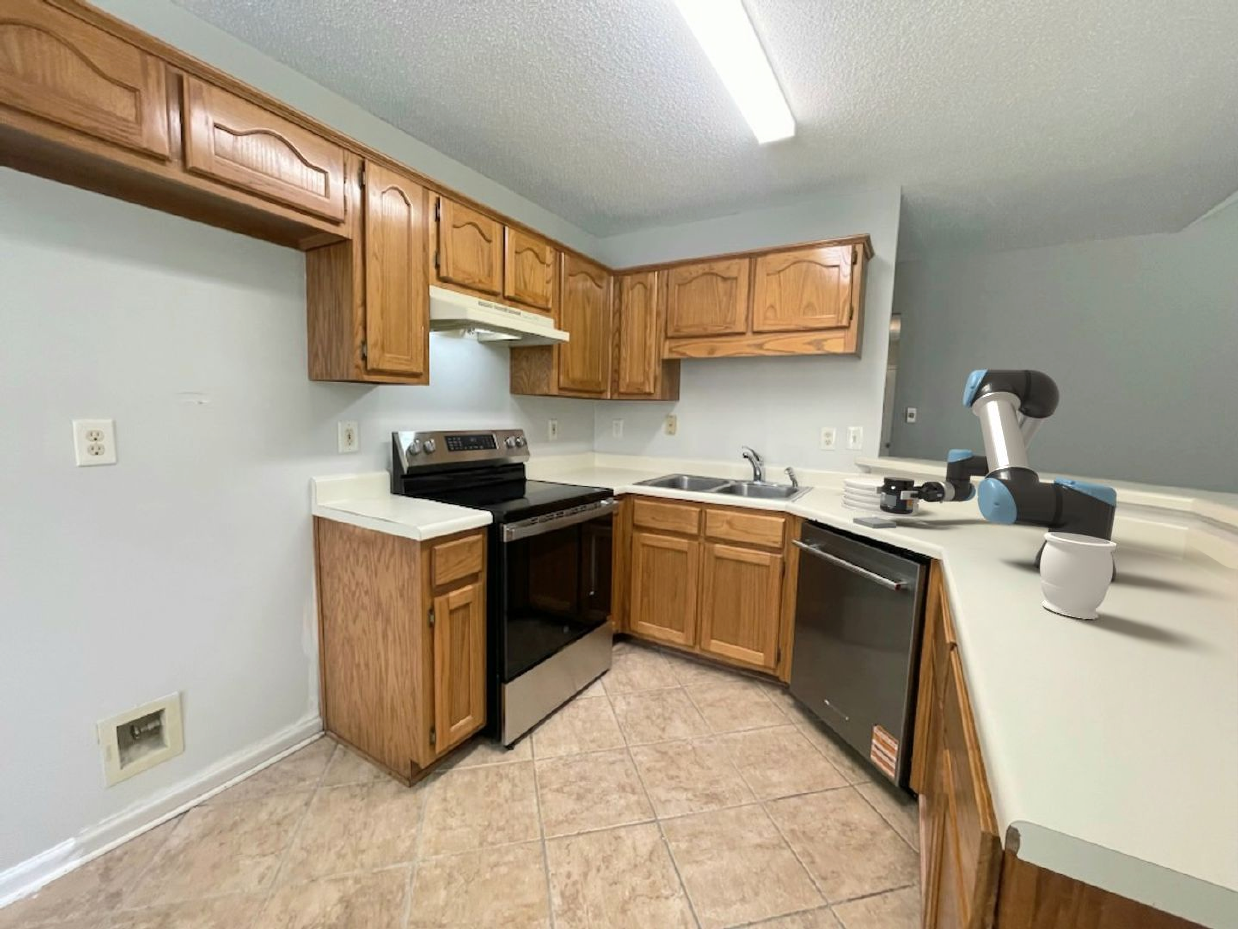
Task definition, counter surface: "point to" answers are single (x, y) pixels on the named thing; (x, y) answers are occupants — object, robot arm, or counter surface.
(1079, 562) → the jar
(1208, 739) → the counter surface
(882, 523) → the tile
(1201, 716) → the counter surface
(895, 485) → the supplement container
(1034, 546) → the counter surface
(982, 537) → the counter surface
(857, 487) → the plate stack
